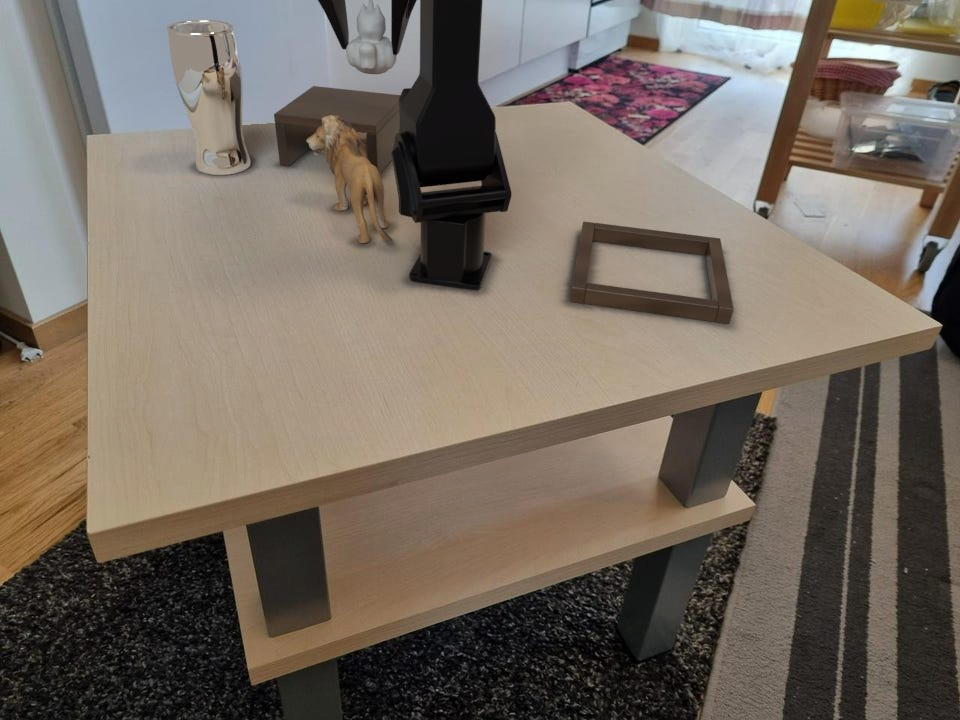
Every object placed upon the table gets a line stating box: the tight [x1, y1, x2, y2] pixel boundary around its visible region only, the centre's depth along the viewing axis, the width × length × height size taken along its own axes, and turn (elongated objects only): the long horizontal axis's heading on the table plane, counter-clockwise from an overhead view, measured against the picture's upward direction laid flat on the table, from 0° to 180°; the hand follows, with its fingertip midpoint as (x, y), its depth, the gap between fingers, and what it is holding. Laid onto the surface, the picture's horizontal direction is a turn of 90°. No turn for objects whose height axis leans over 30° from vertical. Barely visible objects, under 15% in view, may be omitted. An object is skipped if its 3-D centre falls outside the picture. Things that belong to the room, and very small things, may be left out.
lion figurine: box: [306, 115, 394, 244], centre depth 71 cm, size 15×5×9 cm, turn 33°
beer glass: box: [166, 19, 252, 176], centre depth 79 cm, size 7×7×15 cm
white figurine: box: [345, 0, 398, 75], centre depth 77 cm, size 5×7×8 cm
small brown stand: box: [273, 85, 401, 175], centre depth 86 cm, size 12×12×6 cm
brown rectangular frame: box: [569, 221, 734, 325], centre depth 66 cm, size 14×14×2 cm
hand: (370, 51), depth 78 cm, fingers closed on white figurine, 5 cm apart
